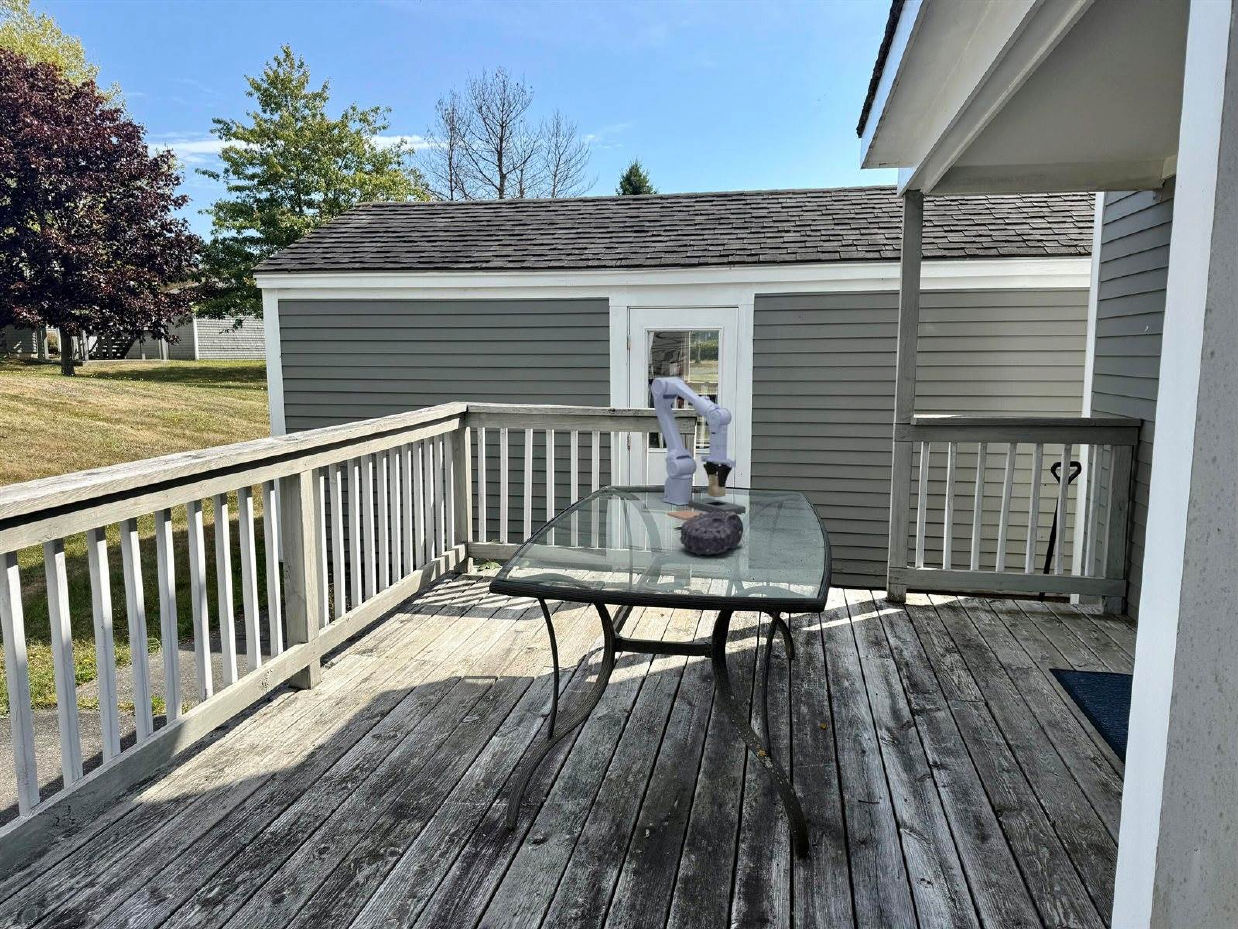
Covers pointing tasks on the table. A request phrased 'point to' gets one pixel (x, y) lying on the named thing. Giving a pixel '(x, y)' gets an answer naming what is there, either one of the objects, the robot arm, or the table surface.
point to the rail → (715, 506)
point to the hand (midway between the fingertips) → (717, 485)
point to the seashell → (712, 532)
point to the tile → (684, 514)
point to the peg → (715, 487)
